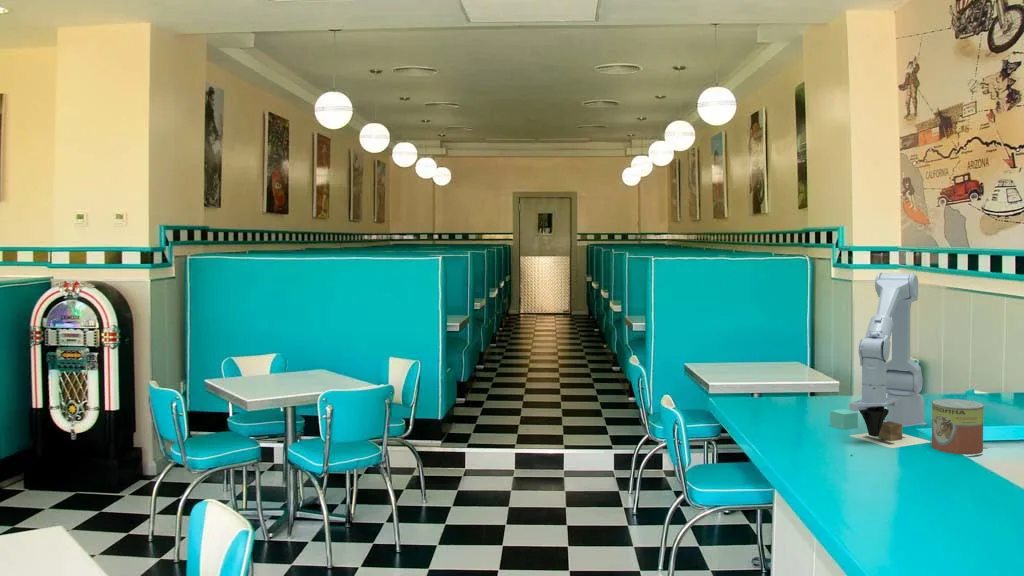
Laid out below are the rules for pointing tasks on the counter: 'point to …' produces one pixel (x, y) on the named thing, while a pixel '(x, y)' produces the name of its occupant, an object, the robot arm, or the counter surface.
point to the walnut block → (890, 431)
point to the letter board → (905, 441)
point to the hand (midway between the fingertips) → (873, 435)
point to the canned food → (957, 426)
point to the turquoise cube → (844, 419)
